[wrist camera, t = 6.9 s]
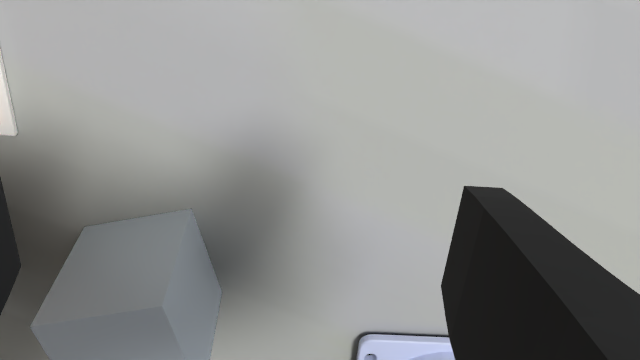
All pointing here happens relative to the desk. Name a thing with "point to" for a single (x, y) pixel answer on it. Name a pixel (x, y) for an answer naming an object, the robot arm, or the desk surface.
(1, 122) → the terracotta swatch tile
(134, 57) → the desk surface
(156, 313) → the slate grey block
